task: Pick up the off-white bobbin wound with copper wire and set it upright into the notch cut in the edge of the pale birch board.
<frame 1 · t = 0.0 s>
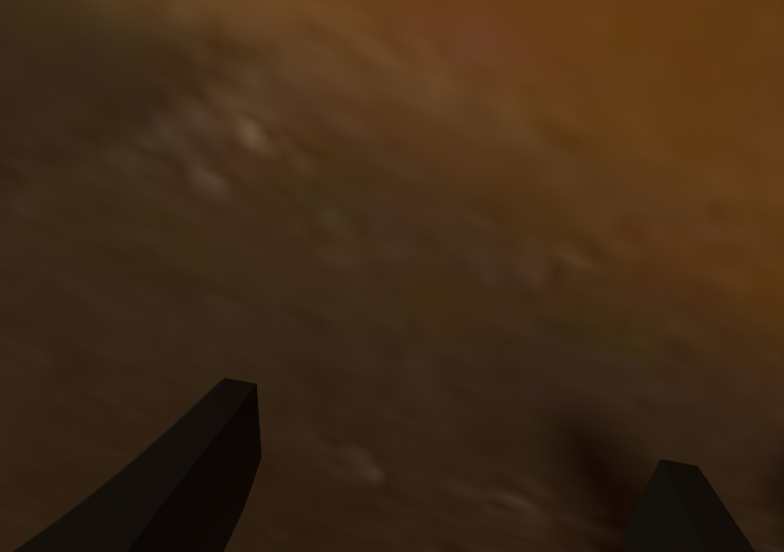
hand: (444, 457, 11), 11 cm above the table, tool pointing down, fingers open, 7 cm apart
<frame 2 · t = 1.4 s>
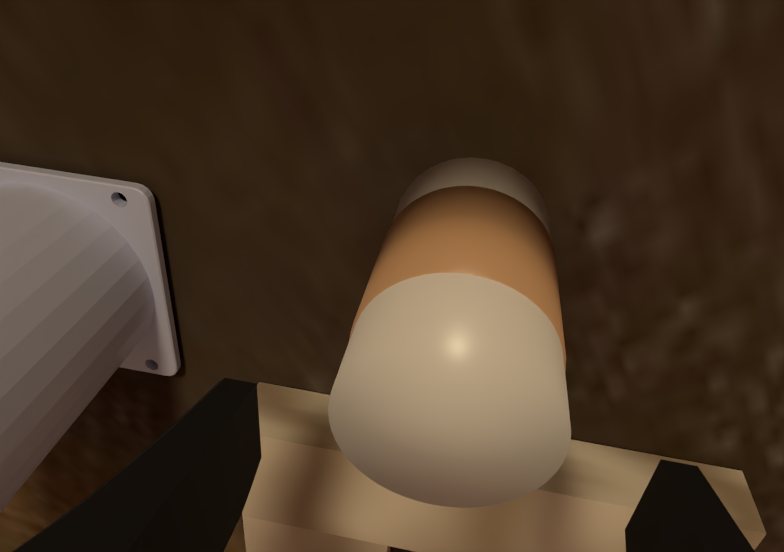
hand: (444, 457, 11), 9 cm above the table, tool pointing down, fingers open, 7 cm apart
bobbin: (470, 229, 18), on the table
notched board: (466, 520, 26), on the table
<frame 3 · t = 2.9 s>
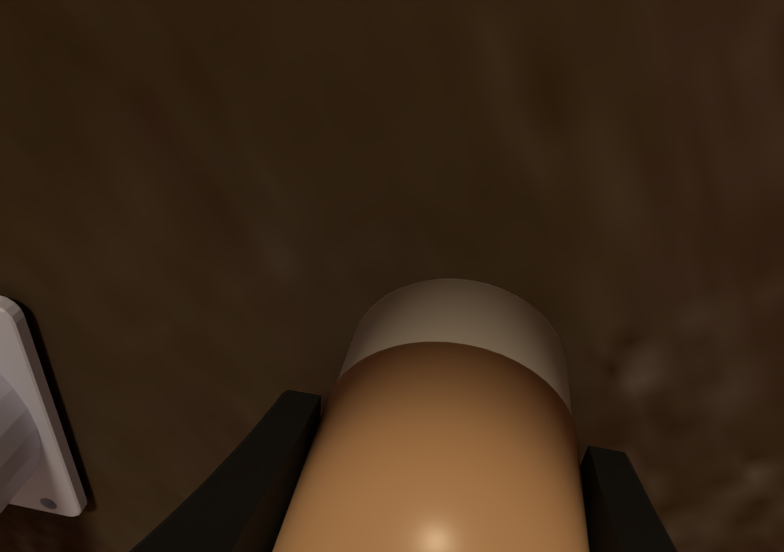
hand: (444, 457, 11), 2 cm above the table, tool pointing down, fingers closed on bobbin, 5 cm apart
bobbin: (455, 367, 13), on the table, touching gripper
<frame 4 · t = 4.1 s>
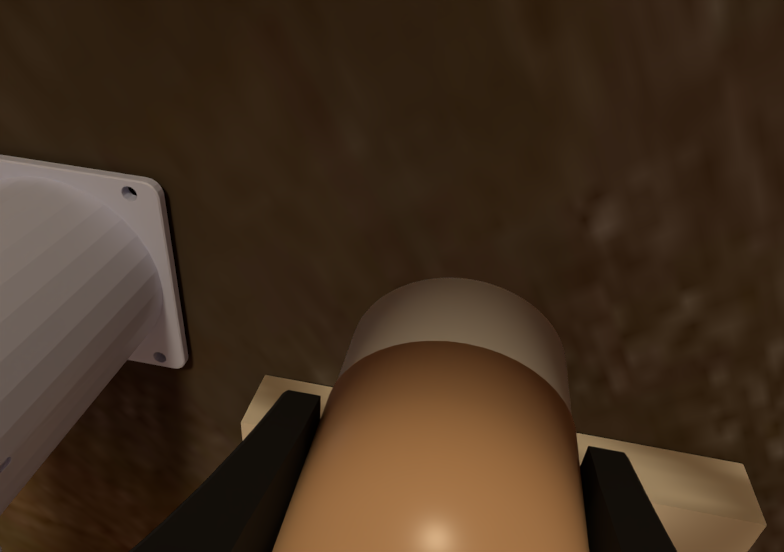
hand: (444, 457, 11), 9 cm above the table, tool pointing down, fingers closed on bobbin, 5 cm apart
bobbin: (455, 367, 13), point 7 cm above the table, touching gripper
notched board: (470, 513, 26), on the table
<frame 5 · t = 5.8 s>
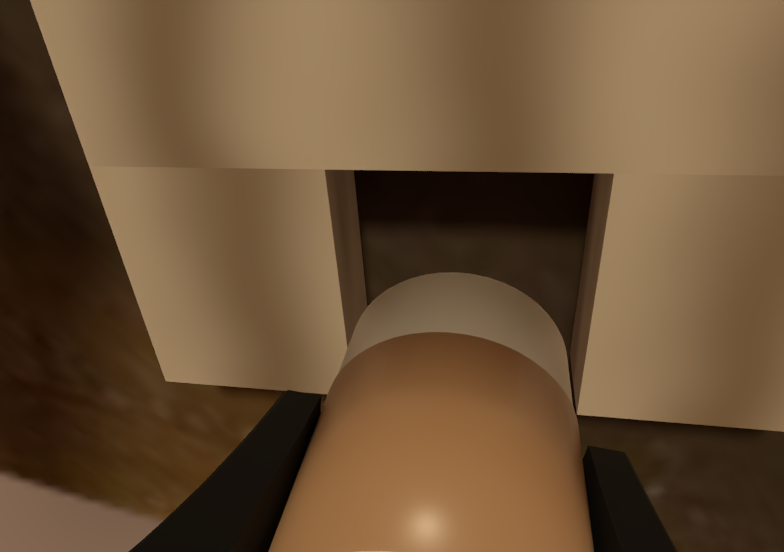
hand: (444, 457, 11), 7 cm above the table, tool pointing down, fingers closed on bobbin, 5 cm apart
bobbin: (456, 364, 13), point 5 cm above the table, touching gripper
notched board: (469, 168, 15), on the table
when the fingers open (4 cm above the table, at t = 7.2 s): bobbin drops 1 cm, on the table.
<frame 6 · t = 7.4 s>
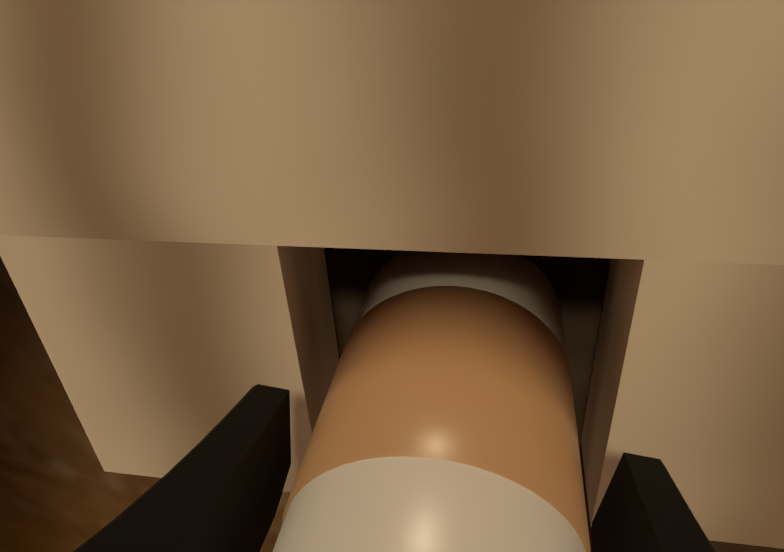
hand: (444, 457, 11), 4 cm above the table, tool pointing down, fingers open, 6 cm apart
bobbin: (460, 321, 14), on the table
notched board: (461, 232, 13), on the table
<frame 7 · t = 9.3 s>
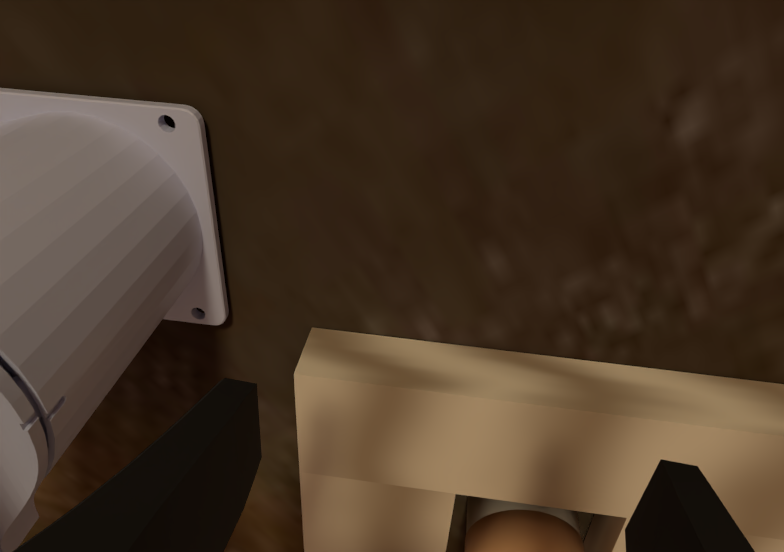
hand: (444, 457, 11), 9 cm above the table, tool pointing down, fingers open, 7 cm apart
bobbin: (520, 503, 26), on the table
notched board: (531, 468, 24), on the table
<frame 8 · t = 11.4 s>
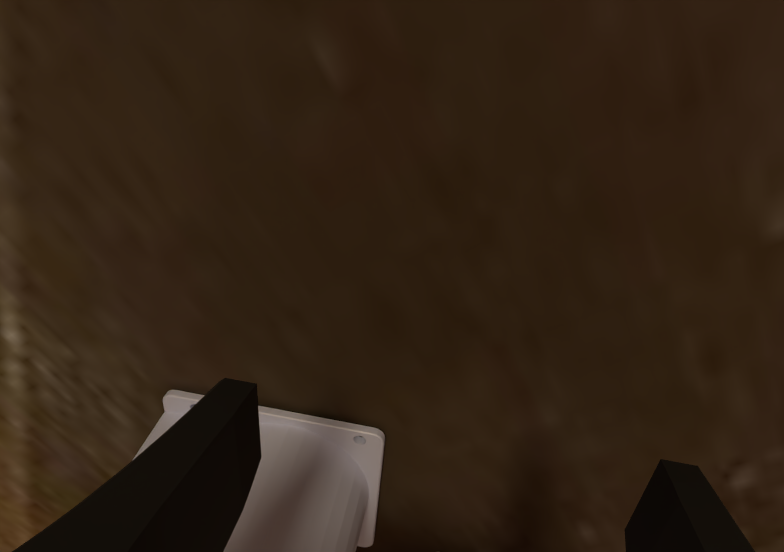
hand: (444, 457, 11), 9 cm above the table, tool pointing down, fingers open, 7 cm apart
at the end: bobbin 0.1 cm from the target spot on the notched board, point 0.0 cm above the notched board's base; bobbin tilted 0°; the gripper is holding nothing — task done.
